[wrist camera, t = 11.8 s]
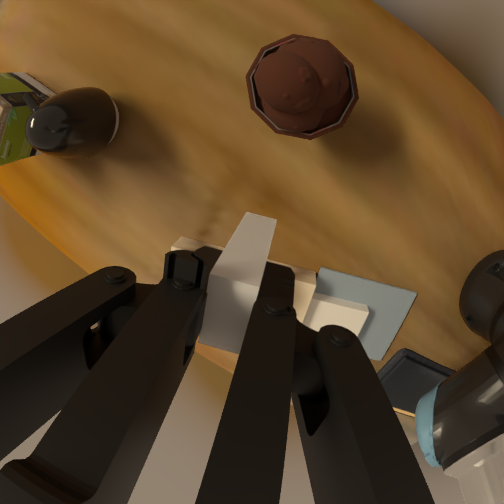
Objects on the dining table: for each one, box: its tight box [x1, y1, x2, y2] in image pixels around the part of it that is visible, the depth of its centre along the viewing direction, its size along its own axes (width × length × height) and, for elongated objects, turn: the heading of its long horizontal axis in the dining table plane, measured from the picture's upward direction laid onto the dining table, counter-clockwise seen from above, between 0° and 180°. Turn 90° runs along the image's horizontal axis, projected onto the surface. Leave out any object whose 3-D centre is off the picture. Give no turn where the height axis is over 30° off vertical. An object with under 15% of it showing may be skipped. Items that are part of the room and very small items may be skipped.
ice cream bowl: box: [246, 34, 359, 140], centre depth 29 cm, size 11×11×15 cm
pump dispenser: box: [23, 87, 119, 158], centre depth 33 cm, size 10×10×15 cm
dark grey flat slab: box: [377, 348, 456, 418], centre depth 51 cm, size 20×2×15 cm
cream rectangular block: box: [302, 292, 369, 336], centre depth 45 cm, size 9×6×2 cm, turn 78°
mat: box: [314, 267, 417, 361], centre depth 46 cm, size 16×14×1 cm
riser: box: [171, 236, 316, 323], centre depth 46 cm, size 20×12×4 cm, turn 78°
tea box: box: [0, 72, 56, 166], centre depth 34 cm, size 15×10×15 cm
